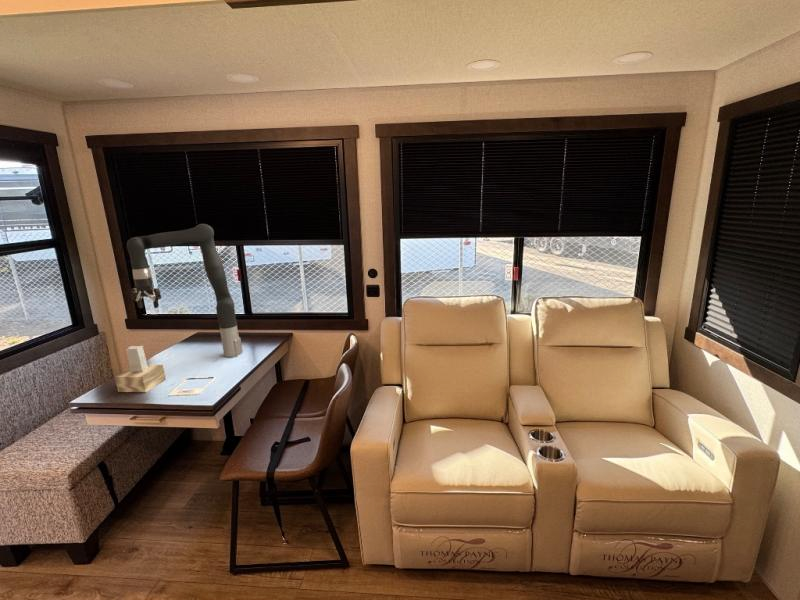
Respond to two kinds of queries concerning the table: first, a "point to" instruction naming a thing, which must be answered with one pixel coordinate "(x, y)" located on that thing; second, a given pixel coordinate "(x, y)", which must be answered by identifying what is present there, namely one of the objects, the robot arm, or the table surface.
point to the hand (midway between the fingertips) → (148, 307)
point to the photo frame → (189, 391)
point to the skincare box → (136, 358)
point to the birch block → (140, 379)
